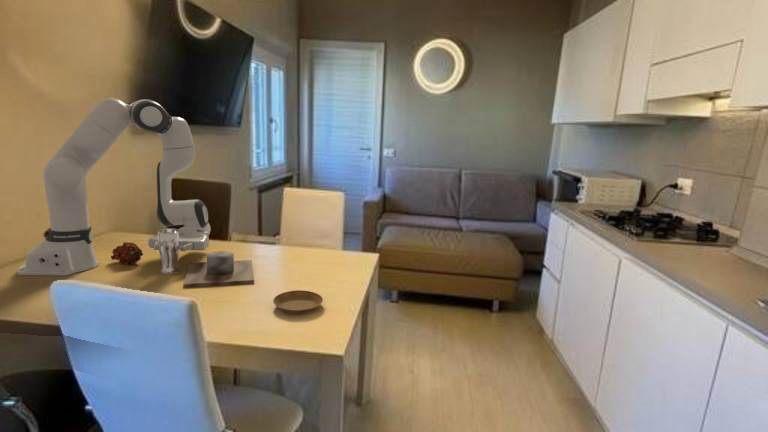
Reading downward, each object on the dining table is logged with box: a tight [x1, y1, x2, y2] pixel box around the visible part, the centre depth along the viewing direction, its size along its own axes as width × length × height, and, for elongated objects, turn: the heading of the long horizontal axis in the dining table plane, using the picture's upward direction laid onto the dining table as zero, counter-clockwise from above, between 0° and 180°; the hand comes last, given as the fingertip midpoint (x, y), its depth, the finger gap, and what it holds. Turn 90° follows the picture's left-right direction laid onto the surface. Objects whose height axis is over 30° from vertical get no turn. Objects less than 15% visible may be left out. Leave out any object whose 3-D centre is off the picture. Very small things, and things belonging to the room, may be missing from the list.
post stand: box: [183, 250, 255, 288], centre depth 154 cm, size 22×22×7 cm
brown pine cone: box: [110, 241, 144, 265], centre depth 160 cm, size 8×8×12 cm
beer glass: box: [157, 227, 181, 275], centre depth 153 cm, size 7×7×15 cm
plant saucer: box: [272, 290, 324, 316], centre depth 131 cm, size 15×15×3 cm
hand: (169, 248), depth 153 cm, fingers open, 8 cm apart
